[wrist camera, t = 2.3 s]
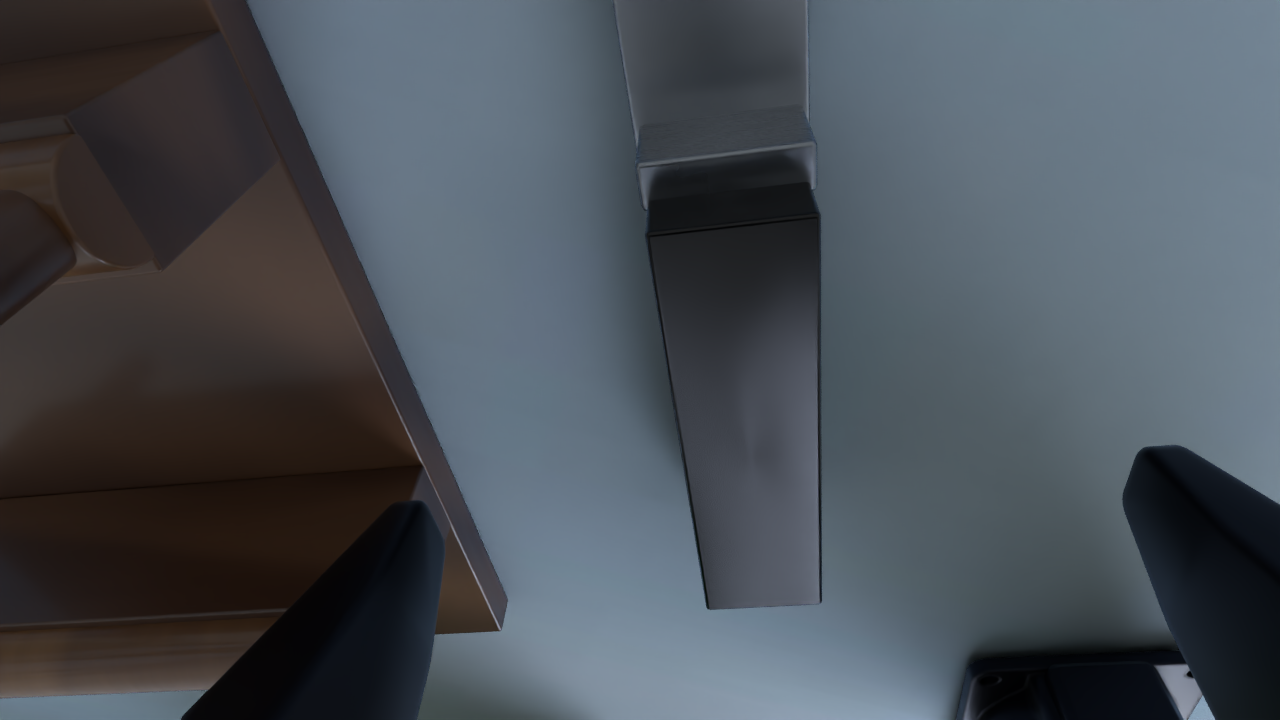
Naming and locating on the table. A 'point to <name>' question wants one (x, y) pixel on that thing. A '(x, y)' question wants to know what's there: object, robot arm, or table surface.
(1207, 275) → the table surface
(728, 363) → the kitchen knife
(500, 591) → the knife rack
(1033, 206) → the table surface
